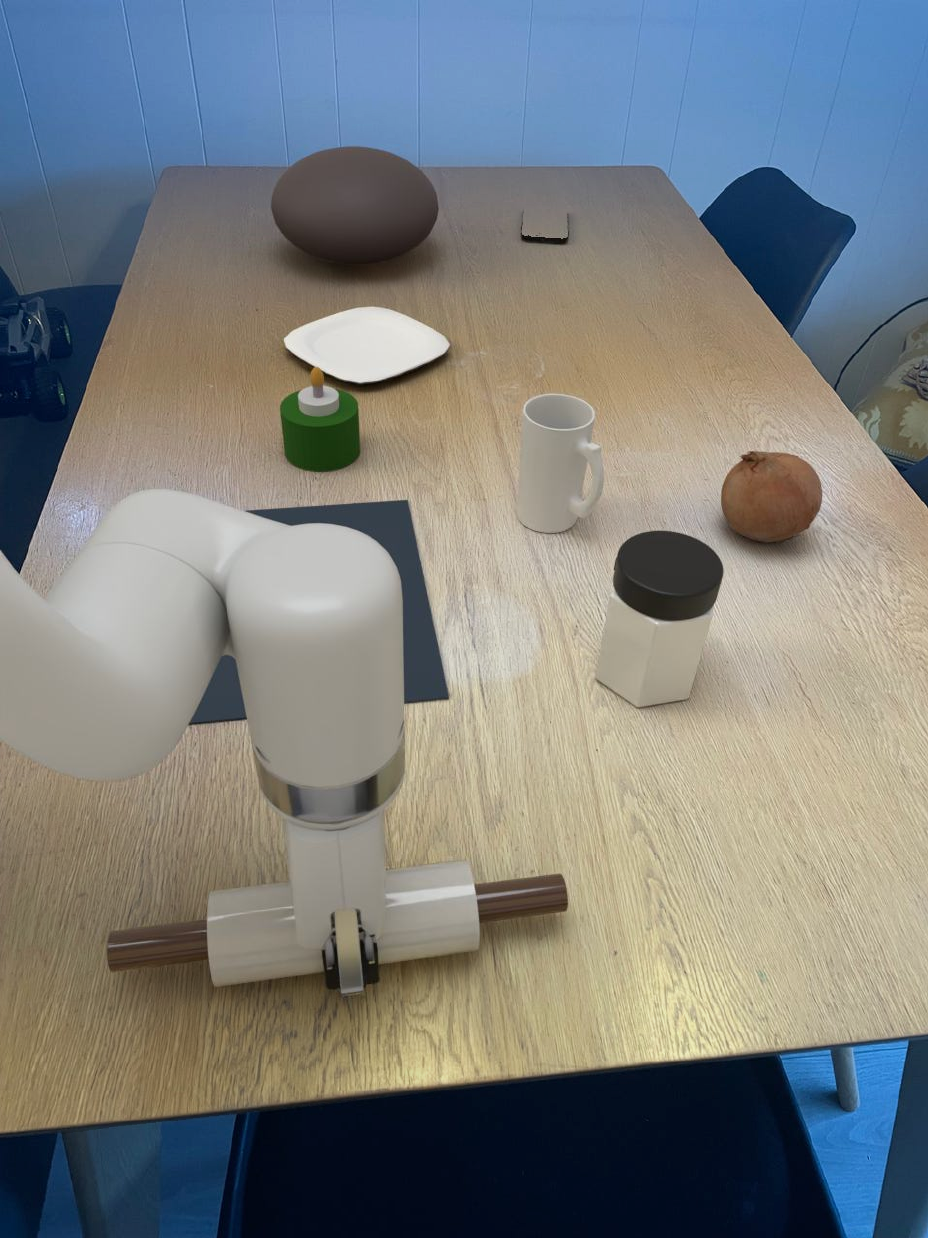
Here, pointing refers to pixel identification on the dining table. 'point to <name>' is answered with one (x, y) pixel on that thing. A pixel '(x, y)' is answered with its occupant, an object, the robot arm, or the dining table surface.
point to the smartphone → (544, 239)
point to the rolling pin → (267, 940)
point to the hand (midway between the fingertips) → (349, 933)
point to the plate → (366, 344)
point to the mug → (557, 463)
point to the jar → (658, 616)
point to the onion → (771, 496)
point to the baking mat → (419, 637)
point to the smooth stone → (354, 205)
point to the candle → (320, 426)
